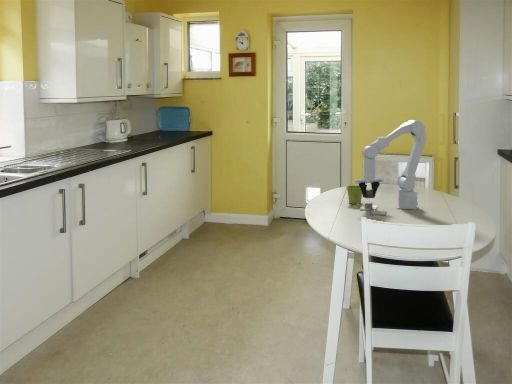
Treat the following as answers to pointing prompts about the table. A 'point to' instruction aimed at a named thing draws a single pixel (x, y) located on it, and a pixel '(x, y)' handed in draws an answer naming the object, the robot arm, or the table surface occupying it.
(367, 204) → the grey square holder
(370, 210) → the coaster
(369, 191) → the dark grey rounded piece
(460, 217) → the table surface
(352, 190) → the plant pot
